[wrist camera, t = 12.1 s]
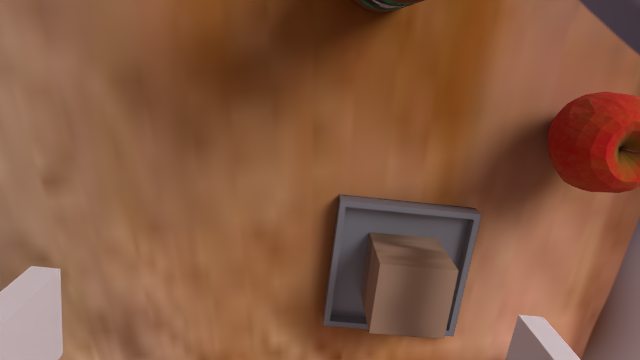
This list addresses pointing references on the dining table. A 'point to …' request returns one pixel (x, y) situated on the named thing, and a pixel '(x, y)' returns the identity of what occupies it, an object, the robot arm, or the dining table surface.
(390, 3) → the bottle
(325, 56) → the dining table surface
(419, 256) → the walnut cube
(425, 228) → the slate tray
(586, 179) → the apple
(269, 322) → the dining table surface
